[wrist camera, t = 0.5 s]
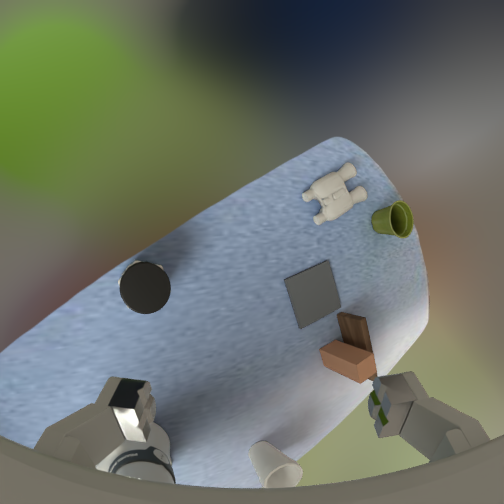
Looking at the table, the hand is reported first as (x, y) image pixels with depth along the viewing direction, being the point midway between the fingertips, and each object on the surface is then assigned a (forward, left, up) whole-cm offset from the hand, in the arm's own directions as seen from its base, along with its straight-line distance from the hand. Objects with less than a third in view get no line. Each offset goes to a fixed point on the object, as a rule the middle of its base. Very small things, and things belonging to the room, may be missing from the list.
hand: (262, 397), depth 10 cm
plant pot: (+51, -29, -53) cm, 79 cm away
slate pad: (+23, -28, -52) cm, 63 cm away
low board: (+22, -44, -52) cm, 72 cm away
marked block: (+17, -42, -52) cm, 69 cm away
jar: (-2, +1, -52) cm, 52 cm away
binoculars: (+43, -14, -53) cm, 69 cm away
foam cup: (-13, -47, -52) cm, 72 cm away
